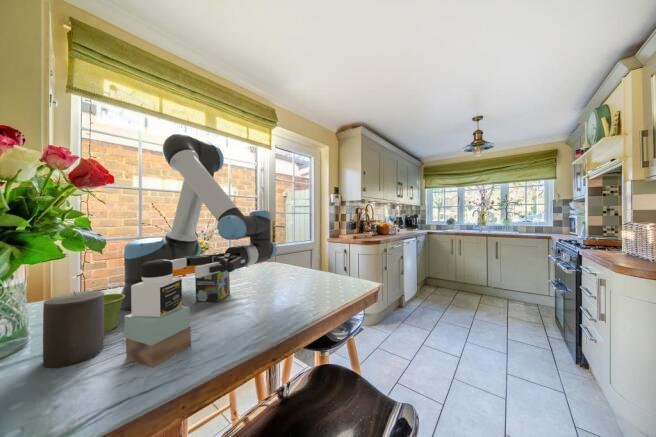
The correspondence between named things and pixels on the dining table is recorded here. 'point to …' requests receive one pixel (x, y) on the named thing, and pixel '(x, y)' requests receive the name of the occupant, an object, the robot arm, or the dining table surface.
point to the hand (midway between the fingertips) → (178, 269)
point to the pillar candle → (72, 328)
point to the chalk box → (212, 287)
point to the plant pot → (112, 310)
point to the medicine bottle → (156, 290)
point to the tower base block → (158, 348)
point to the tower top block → (156, 326)
